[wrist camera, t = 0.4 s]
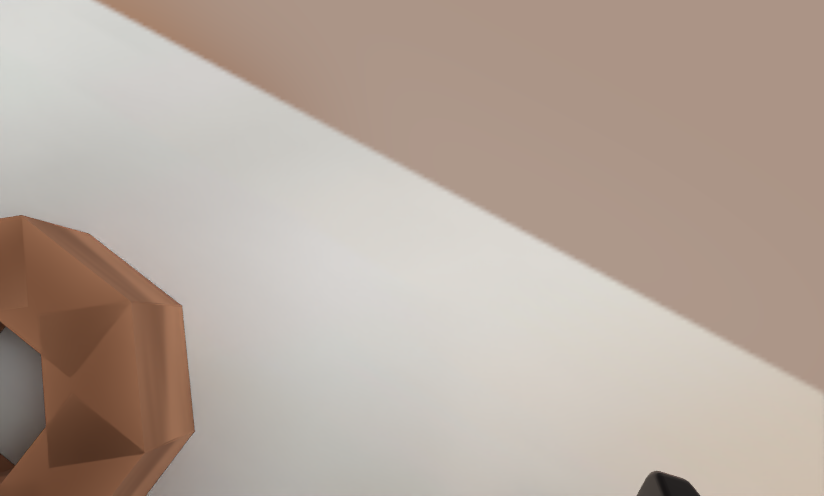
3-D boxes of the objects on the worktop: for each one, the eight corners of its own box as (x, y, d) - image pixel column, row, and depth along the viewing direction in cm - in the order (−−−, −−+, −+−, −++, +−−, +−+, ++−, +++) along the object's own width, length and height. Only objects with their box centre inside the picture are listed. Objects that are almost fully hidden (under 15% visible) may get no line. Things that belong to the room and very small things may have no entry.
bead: (204, 523, 22) (155, 566, 18) (-101, 569, 22) (-215, 620, 18) (173, 220, 24) (122, 199, 20) (-113, 264, 24) (-222, 252, 20)
